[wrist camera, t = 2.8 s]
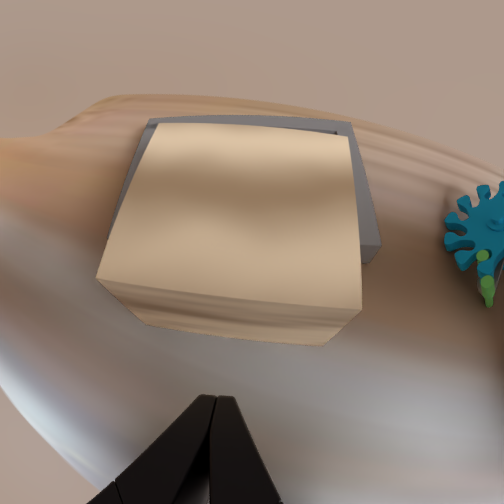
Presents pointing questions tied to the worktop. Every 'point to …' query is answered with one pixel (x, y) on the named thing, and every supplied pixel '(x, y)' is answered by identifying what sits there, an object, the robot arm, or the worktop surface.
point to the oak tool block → (239, 234)
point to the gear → (480, 238)
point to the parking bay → (364, 203)
